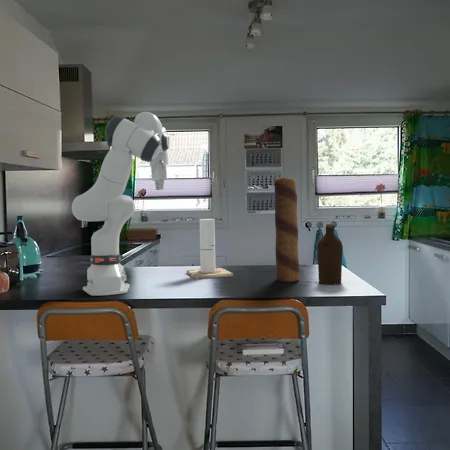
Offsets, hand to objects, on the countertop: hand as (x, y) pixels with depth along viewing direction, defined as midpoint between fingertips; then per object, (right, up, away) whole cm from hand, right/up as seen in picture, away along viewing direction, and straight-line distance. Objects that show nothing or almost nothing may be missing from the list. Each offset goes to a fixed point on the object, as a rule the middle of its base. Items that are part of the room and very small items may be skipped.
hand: (159, 189), depth 227 cm
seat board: (+24, -41, -3) cm, 48 cm away
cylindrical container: (+24, -40, -3) cm, 46 cm away
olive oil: (+76, -42, -28) cm, 92 cm away
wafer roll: (+59, -42, -20) cm, 75 cm away
